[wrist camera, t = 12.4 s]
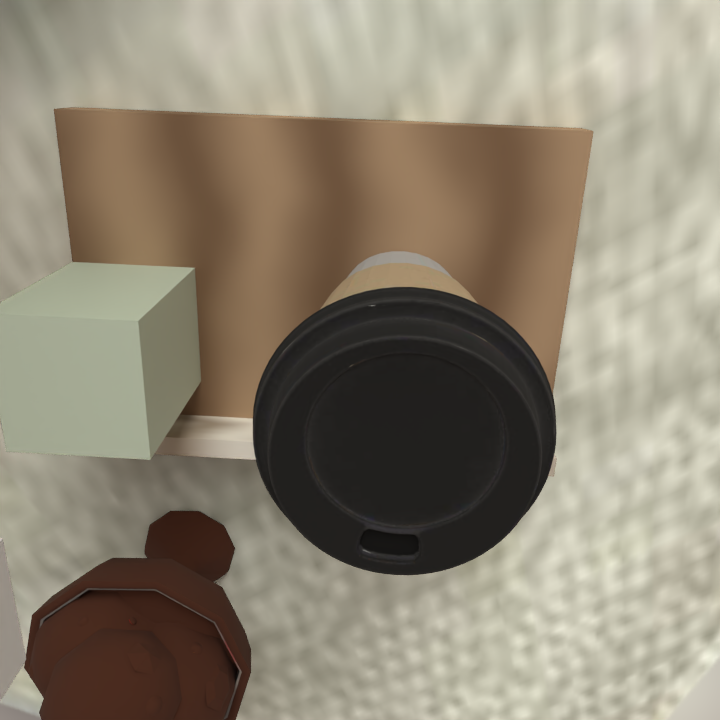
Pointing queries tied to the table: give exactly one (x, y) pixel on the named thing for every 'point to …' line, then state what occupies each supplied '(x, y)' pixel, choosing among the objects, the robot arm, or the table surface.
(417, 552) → the coffee cup
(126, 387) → the pale green box
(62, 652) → the ice cream bowl
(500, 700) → the table surface
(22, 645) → the robot arm
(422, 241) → the shelf board
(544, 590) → the table surface
